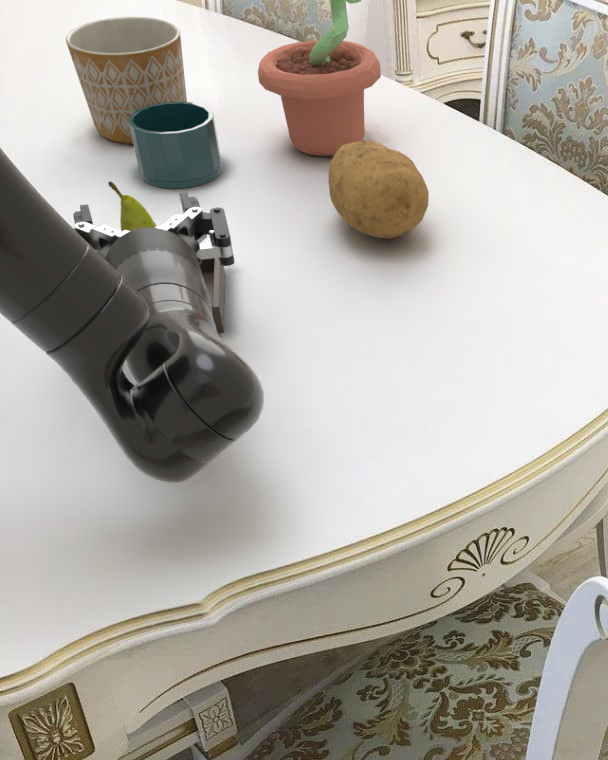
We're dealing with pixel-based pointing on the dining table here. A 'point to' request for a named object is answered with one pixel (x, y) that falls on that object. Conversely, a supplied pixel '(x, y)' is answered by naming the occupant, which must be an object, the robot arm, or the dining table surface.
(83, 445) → the dining table surface
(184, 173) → the cup
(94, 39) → the planter
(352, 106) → the decorative flower
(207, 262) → the tray
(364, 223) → the potato
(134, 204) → the fruit
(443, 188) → the dining table surface
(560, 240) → the dining table surface
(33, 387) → the dining table surface
